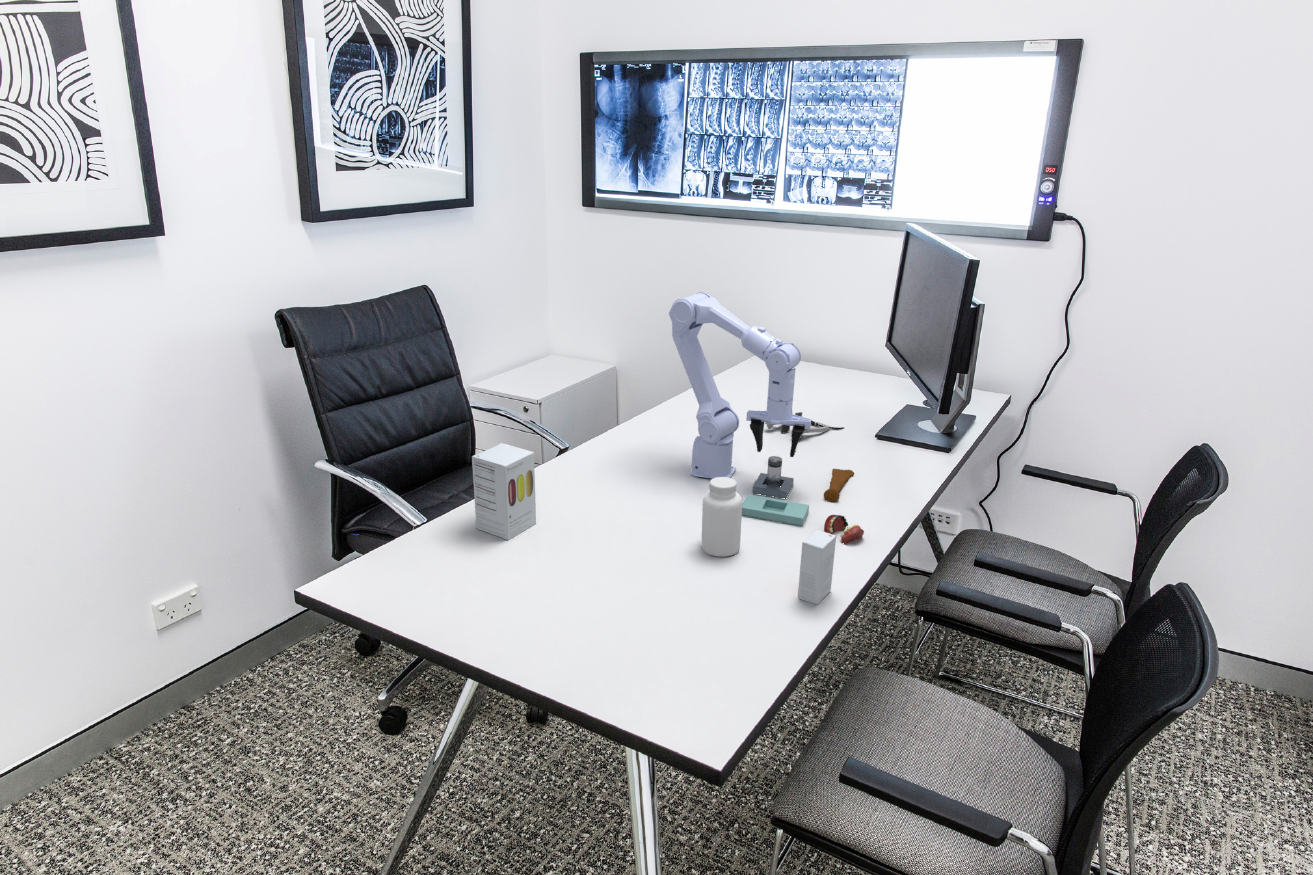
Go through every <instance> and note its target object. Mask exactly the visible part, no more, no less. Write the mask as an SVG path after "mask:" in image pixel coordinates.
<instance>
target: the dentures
mask: <svg viewBox="0 0 1313 875" xmlns="http://www.w3.org/2000/svg"><path fill="white" fill-rule="evenodd" d="M823 525H824V526H823V532H826V533H829V534H832V535H834V532H836V531H841V530H842V531H841V533H840V535H839V536H840V540H841V543H842V544H843V543H844V544H843V545H847V544H849V543H852V542H853V541H857V540H860V539H861V538H863V536H864V534H865V531H864V529H862V527H861V526H860V525H859V524H858V523H853V524H851V525H849V522H848V521H847V518H846V517H845V515H841V514H830V515H829V516H827V517H826V519H825V521H824V524H823ZM851 541H852V542H851Z"/></svg>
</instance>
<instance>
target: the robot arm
mask: <svg viewBox="0 0 1313 875" xmlns="http://www.w3.org/2000/svg"><path fill="white" fill-rule="evenodd" d="M668 316H669V319H670V320H671V334H672V335H671V336H672V340H673V342H674V345H675V347H676V350H677V353H678V355H679V358H680V360H681V362H682V365H683V368H684V369H685V373H686V376H687V377H688V380H689V383H690V385H691V389H692V390H693V393H694V396H695V398H696V401H697V403H698V409H697V412H696V416H695V418H696V420H697V426H698V427H697V429H698V430H697V432H698V434H699V435H697V436H695V438H694V441H693V444H692V450H691V451H692V452H691V472H690V475H691V476H694V477H699V478H700V477H701V478H704V479H705V478H706V479H710V480H712V479H713V478H716V477H728V478H731V477H732V476H733V474H734V472H735V471H737V470H736V469H737V468H736V466H733V465H732V463H733V449H734V448H733V447H734V436H735V435H734V434H735V432H736V431H737V430H739V427H740V418H739V416H738V414H737V412H735V410H734V409H733V408H732V407H731V404H730V402H729V401H727V400H726V399H724V398H723V397H721V394H720V391H719V389H718V387H717V385H716V381H715V379H714V377H713V374H712V371H711V369H710V366H709V362H708V360H707V359H706V355H705V353H704V351H703V348H702V346H701V342H700V341H699V338H698V335H699V333H700V330H701V329H702V326H703V325H704V324H714V325H716V326H717V327H719V328H721V329H722V330H724V331H726V332H727V333H729V334H731V335H733V336H734V337H736V338H738V339H739V340H740V341H741V342H740V343H741V346H742V348H743V349H745V350H747V352H749V353H751V355H754V356H756V357H757V358H758V359H760V360H761V361H763V362H764V364H765V366H766V368H767V370H768V385H767V400H766V410H748V411H747V412H746V421H747V422H750V424H749V428H750V430H751V432H752V434H753V437H754V440H755V445H756V452H758V453H761V451H762V450H763V447H764V446H763V445H764V444H763V443H764V435H763V434H764V427H765V422H767V423H771V424H776V425H775V426H777V425H779V426H780V425H781V426H782V425H788V426H790V427H792V429H793V430H791V435H792V437H791V446H790V452H789V457H790V458H794V457H795V453H796V450H797V446H798V443H799V442H800V439H801V437H802V436H803V432H804V430H805V429H810V427H811V426H812V425H811V420H812V418H808V417H804V416H802V417H801V416H797V415H795V414H794V413H793V405H794V404H793V401H794V393H795V392H794V391H795V380H796V379H795V378H796V367H797V366H798V365H799V364H800V362H801V358H802V357H801V354H802V353H801V351H800V349H799V348H798V346H796V345H795V344H794V343H793V342H788V341H787V342H783V340H782V339H781V338H777V337H775V336H773V335H772V334H771V333H769V332H768V331H766V330H767V329H766V328H765V327H764V326H759V325H753V326H749V325H747V324H746V323H745V322H744V321H742V319H740V318H739V317H737V316H736V315H735V314H733V313H732V312H731V311H729V309H726V307H724V306H723V305H722V304H720V302H719V301H718V299H717V298H715V297H714V296H712V295H710V294H708V292H704V291H698V292H697V293H695V294H692V295H689V296H686V297H680V298H678V299H676V300H674V302H673V303H672V305H671V308H670V310H669V311H668ZM793 426H794V428H793Z"/></svg>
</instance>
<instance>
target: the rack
mask: <svg viewBox="0 0 1313 875" xmlns="http://www.w3.org/2000/svg"><path fill="white" fill-rule="evenodd" d="M809 510H810V504H807V503H801V502H795V501H791V500H784V499H778V498H773V497H767V496H761V495H755V494H749V493H748V494H747V495H746V496H745V498H744V500H743V501H742V517H745V518H747V517H748V518H751V517H752V518H753V519H759V520H764V521H768V520H769V522H773V523H779V522H780V523H779V524H786V525H790V524H791V526H796V527H801V526H802V527H803V526H804V525H805V522H806V521H807V517H808V514H809Z"/></svg>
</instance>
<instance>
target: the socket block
mask: <svg viewBox="0 0 1313 875" xmlns="http://www.w3.org/2000/svg"><path fill="white" fill-rule="evenodd" d="M794 479H795V478H794V477H789V476H784V475H783V476H782V475H781V481H780V486H781V487H775V486H769V485H765V484H766V483H767V473H763V472H760V473H759V475H758V477H757V478H756V480H755V481H754V483H753V485H752V492H751V494H752V493H753V494H752V495H755V494H761V495H766V496H765V497H767V496H774V497H778V498H785V499H786V498H787V499H788V497H787V496H789V495H790V493H791V491H790V490H792V489H793V487H794ZM792 486H793V487H792ZM791 488H792V489H791ZM789 492H790V493H789ZM788 494H789V495H788ZM761 495H760V496H761ZM778 498H777V499H778ZM787 499H786V500H787Z"/></svg>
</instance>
